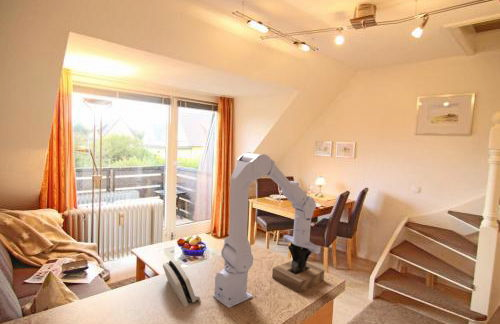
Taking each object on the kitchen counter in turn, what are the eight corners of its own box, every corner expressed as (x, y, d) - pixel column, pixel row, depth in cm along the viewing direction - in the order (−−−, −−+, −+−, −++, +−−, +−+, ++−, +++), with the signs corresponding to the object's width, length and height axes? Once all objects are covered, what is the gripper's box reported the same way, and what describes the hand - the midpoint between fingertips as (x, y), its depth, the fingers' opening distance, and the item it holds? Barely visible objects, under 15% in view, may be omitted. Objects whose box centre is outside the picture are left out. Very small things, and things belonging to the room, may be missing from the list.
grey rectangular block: (295, 282, 95) (296, 262, 94) (290, 280, 96) (291, 260, 96) (305, 277, 99) (306, 258, 98) (300, 275, 100) (302, 256, 100)
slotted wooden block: (299, 292, 88) (300, 282, 88) (272, 277, 97) (272, 268, 97) (323, 279, 98) (324, 270, 98) (296, 267, 107) (297, 258, 107)
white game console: (201, 302, 80) (191, 273, 77) (186, 312, 78) (176, 282, 75) (182, 276, 94) (173, 251, 91) (169, 284, 92) (159, 258, 89)
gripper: (326, 232, 94) (323, 271, 95) (292, 221, 104) (290, 256, 105) (314, 236, 89) (311, 277, 90) (280, 224, 100) (277, 261, 101)
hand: (298, 266), depth 97 cm, fingers closed on grey rectangular block, 2 cm apart
